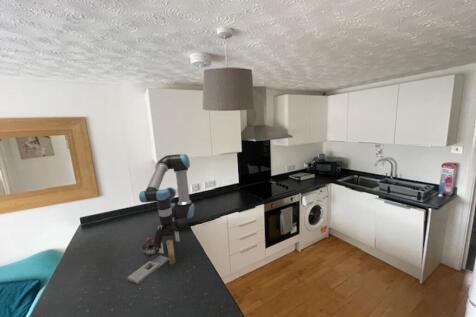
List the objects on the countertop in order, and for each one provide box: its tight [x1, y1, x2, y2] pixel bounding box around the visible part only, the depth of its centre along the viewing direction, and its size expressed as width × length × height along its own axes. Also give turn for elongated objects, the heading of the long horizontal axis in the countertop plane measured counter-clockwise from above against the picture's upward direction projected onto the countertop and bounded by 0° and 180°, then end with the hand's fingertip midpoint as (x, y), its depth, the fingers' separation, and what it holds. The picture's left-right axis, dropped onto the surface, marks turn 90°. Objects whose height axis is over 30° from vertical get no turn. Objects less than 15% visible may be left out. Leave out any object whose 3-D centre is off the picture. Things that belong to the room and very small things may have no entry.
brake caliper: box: [142, 237, 160, 256], centre depth 141 cm, size 11×11×12 cm
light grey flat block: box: [126, 260, 160, 285], centre depth 119 cm, size 16×9×2 cm, turn 153°
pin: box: [166, 238, 176, 265], centre depth 126 cm, size 4×4×15 cm
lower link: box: [145, 254, 169, 276], centre depth 126 cm, size 16×9×1 cm, turn 153°
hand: (170, 246), depth 125 cm, fingers open, 13 cm apart
